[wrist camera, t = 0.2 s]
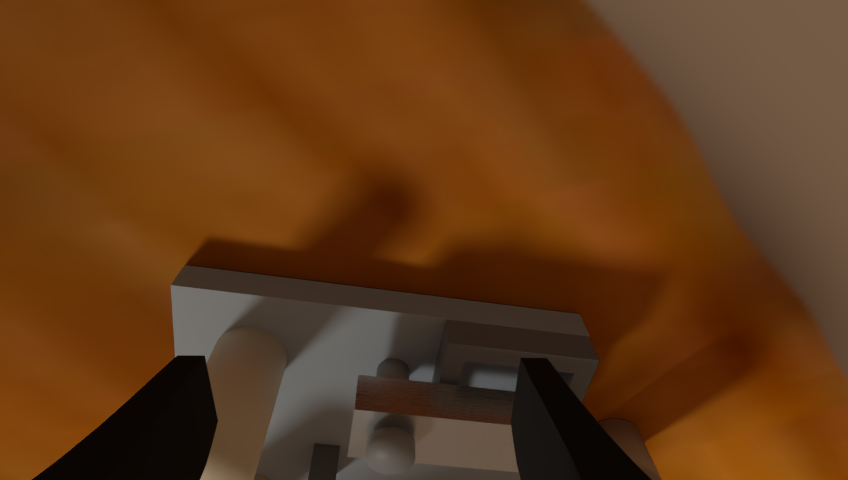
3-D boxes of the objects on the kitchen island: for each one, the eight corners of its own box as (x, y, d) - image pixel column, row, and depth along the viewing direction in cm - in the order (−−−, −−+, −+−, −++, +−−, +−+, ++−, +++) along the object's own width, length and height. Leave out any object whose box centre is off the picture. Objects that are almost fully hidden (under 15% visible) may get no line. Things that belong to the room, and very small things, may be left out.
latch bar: (351, 420, 22) (347, 456, 21) (358, 374, 21) (354, 409, 20) (562, 440, 23) (573, 477, 22) (579, 398, 22) (592, 433, 20)
